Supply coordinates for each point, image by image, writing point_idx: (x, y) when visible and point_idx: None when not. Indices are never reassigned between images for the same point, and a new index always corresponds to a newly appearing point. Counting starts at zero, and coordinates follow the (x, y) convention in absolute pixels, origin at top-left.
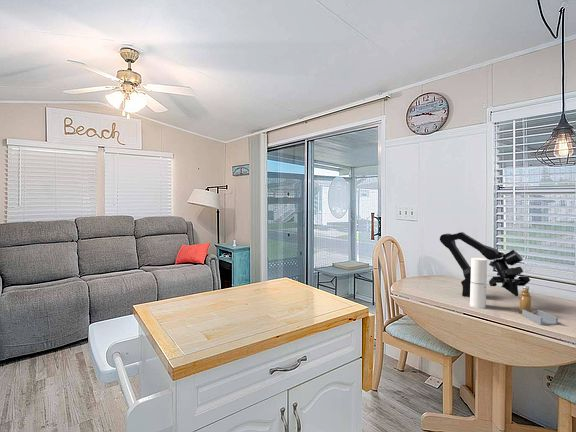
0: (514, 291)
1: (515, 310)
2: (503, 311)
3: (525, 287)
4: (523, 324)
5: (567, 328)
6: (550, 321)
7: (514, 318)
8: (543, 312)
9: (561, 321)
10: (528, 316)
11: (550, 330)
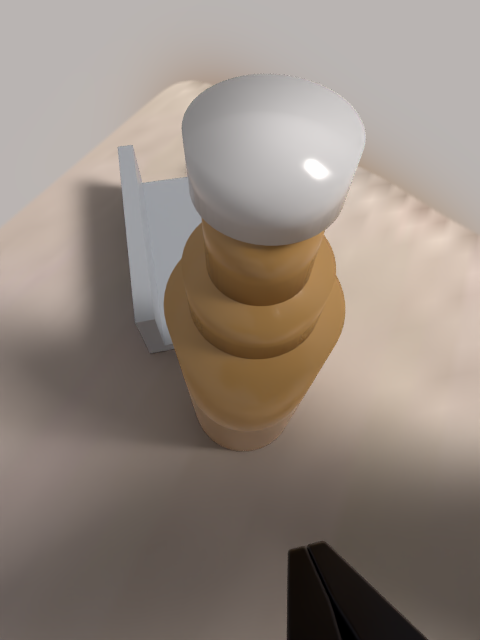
0: (396, 609)
1: (300, 503)
2: (444, 435)
3: (312, 102)
4: (362, 170)
5: (114, 150)
6: (154, 209)
7: (388, 261)
8: (145, 244)
9: (43, 254)
10: None
11: None
